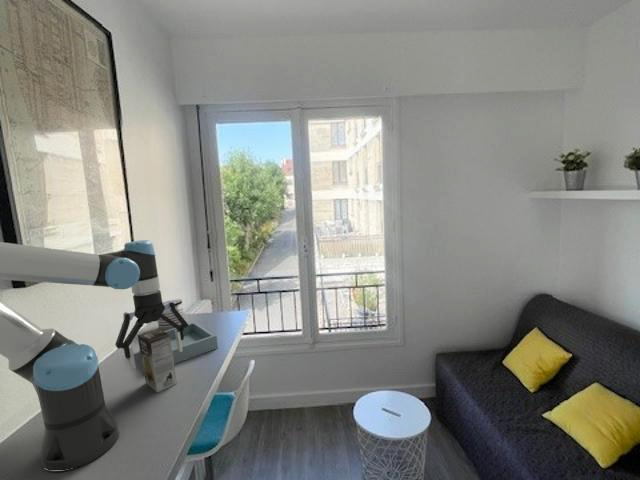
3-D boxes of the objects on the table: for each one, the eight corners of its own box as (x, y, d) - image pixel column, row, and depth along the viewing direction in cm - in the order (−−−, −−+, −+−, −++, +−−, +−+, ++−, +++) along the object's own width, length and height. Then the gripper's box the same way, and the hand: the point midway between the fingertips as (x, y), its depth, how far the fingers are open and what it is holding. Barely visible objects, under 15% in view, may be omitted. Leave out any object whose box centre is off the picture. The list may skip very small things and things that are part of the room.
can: (168, 334, 148) (164, 307, 146) (153, 330, 154) (149, 304, 152) (191, 324, 157) (187, 299, 156) (175, 321, 163) (172, 297, 162)
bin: (155, 371, 116) (153, 357, 115) (139, 351, 133) (137, 339, 132) (217, 348, 130) (216, 335, 129) (196, 333, 147) (194, 321, 146)
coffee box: (144, 383, 108) (136, 334, 106) (165, 374, 113) (157, 327, 111) (156, 393, 102) (148, 341, 100) (177, 383, 107) (170, 333, 105)
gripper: (184, 280, 114) (193, 341, 117) (96, 300, 99) (109, 370, 102) (192, 283, 109) (201, 347, 112) (100, 306, 93) (113, 379, 96)
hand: (157, 358), depth 107 cm, fingers open, 13 cm apart
